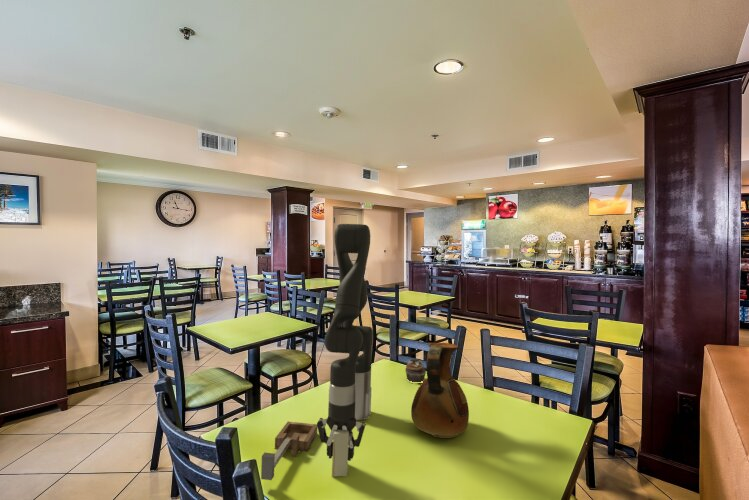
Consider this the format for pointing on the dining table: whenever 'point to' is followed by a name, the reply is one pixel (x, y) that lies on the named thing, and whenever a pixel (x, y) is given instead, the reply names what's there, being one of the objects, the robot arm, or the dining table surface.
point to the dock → (297, 436)
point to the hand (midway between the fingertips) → (340, 457)
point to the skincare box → (340, 453)
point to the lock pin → (272, 460)
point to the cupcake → (415, 370)
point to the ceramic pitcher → (440, 396)
